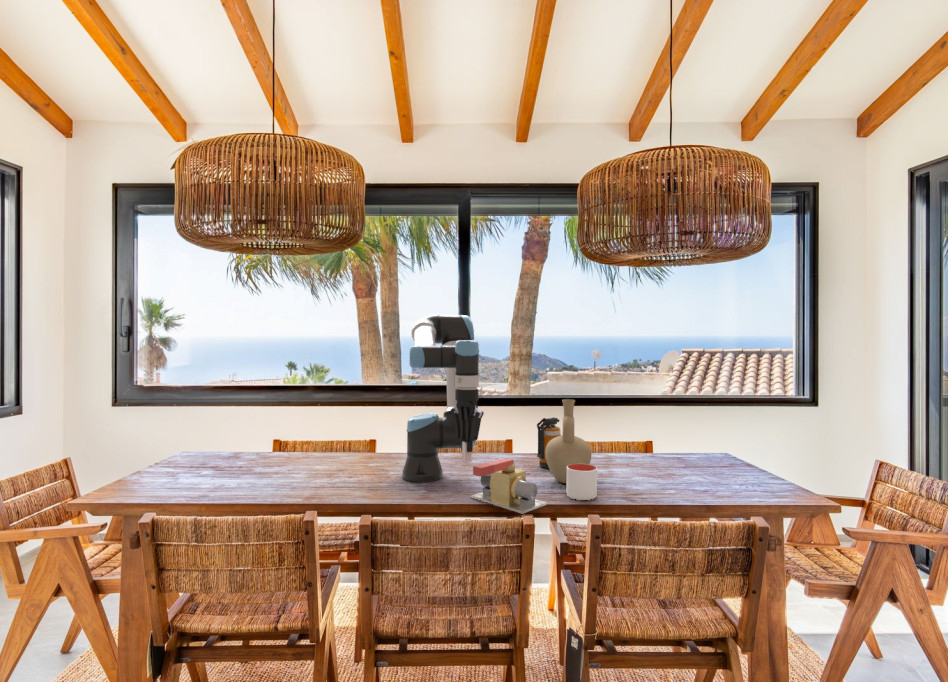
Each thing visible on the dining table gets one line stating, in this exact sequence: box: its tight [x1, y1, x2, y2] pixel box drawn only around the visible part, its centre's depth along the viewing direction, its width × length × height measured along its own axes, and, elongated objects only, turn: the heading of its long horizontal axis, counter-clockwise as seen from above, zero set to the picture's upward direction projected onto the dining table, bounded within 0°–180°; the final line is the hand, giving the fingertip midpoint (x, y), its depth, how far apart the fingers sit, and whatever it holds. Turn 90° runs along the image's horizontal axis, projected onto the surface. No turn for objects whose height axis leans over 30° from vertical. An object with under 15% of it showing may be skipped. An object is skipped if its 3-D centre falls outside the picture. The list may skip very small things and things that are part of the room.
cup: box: [565, 464, 598, 501], centre depth 183 cm, size 10×10×10 cm
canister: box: [536, 416, 563, 469], centre depth 222 cm, size 9×11×20 cm
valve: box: [470, 467, 548, 515], centre depth 178 cm, size 22×12×10 cm, turn 45°
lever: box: [472, 458, 516, 478], centre depth 174 cm, size 17×4×4 cm, turn 135°
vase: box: [545, 398, 592, 484], centre depth 201 cm, size 17×17×30 cm
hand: (466, 461), depth 177 cm, fingers closed
